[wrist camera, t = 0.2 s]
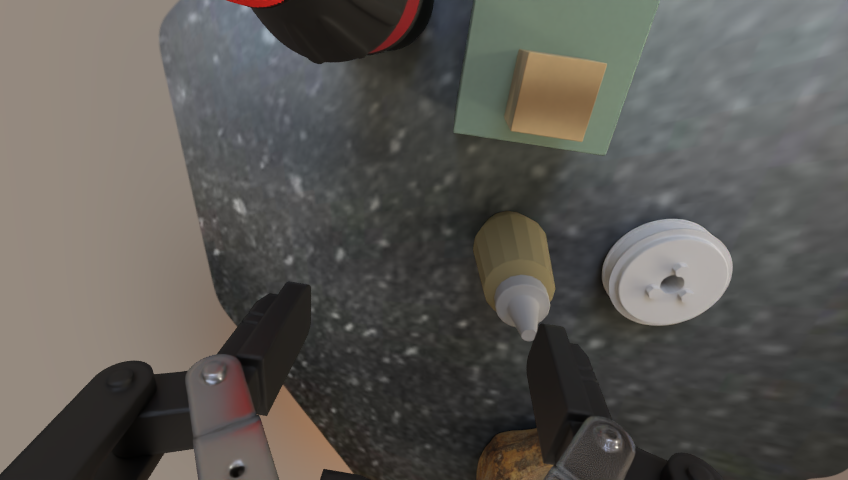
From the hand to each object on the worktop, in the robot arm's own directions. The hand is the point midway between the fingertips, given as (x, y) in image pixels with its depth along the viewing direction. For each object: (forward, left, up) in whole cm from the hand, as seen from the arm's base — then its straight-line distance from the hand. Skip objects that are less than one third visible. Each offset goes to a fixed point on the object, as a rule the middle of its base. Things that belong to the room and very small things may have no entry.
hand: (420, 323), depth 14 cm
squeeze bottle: (+11, +9, -32) cm, 35 cm away
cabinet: (-9, +7, -32) cm, 34 cm away
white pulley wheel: (+12, +27, -32) cm, 43 cm away
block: (-6, +7, -22) cm, 24 cm away
